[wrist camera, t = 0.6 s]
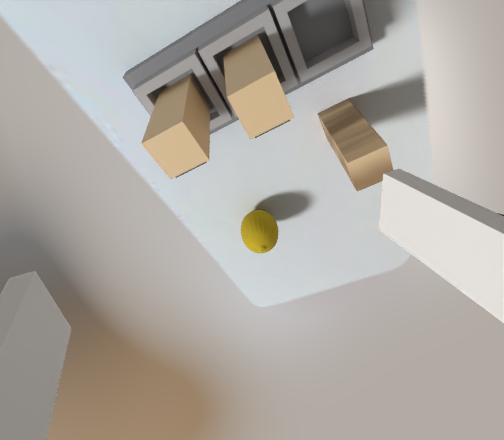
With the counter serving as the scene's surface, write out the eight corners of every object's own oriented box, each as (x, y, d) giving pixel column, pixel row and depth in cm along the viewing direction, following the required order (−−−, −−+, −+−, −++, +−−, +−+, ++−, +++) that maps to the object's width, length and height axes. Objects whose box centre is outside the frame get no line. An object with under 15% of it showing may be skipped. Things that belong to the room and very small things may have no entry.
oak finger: (317, 113, 40) (347, 163, 31) (348, 98, 40) (387, 145, 31) (327, 140, 43) (357, 192, 34) (356, 126, 42) (394, 177, 33)
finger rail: (126, 71, 35) (89, 127, 25) (343, -63, 29) (415, -65, 19) (179, 143, 41) (167, 212, 31) (366, 44, 36) (430, 87, 25)
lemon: (250, 194, 48) (255, 231, 42) (280, 207, 50) (289, 243, 44) (233, 219, 51) (235, 256, 45) (262, 230, 53) (268, 267, 47)
